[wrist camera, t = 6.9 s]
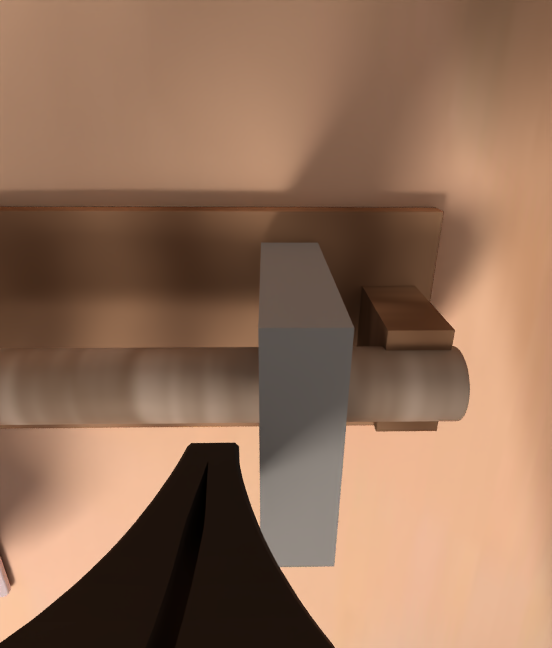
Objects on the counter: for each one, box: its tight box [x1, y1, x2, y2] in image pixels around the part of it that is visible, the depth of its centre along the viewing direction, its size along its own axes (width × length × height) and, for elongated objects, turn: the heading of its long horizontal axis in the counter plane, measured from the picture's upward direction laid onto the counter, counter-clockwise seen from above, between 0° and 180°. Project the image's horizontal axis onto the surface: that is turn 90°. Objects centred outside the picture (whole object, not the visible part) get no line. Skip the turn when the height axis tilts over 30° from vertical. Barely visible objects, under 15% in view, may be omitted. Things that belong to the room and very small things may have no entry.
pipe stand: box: [0, 207, 470, 431], centre depth 19 cm, size 24×11×7 cm, turn 90°
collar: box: [258, 243, 354, 567], centre depth 17 cm, size 2×9×9 cm, turn 0°
